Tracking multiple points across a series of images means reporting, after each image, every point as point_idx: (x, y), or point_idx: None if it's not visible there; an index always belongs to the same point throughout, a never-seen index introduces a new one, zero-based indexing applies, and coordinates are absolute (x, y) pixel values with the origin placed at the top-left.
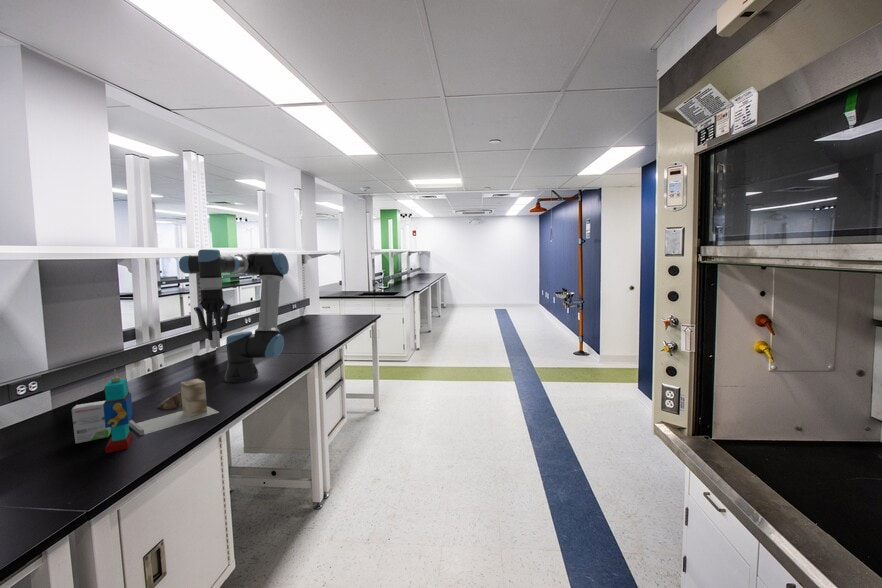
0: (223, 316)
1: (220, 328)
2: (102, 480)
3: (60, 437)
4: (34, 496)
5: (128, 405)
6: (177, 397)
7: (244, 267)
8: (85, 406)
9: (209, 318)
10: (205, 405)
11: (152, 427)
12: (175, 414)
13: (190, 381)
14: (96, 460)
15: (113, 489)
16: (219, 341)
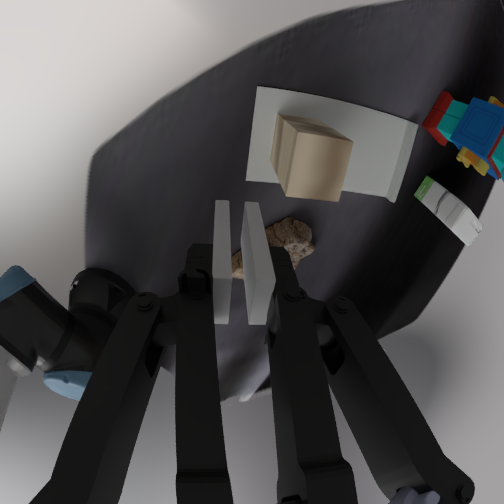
0: (127, 430)
1: (193, 300)
2: (484, 34)
3: (435, 240)
4: None
5: (489, 120)
6: (293, 232)
7: None
8: (477, 220)
9: (330, 417)
10: (283, 116)
11: (383, 141)
12: None
13: (318, 182)
14: (470, 99)
15: (483, 3)
16: (217, 221)
